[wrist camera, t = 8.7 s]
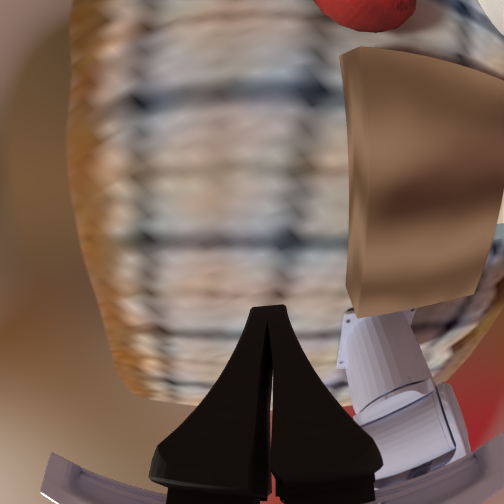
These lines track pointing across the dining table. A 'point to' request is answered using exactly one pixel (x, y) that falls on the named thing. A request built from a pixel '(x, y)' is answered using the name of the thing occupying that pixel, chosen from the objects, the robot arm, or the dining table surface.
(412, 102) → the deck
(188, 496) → the robot arm
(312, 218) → the dining table surface
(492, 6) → the base with upright slab
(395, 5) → the onion
